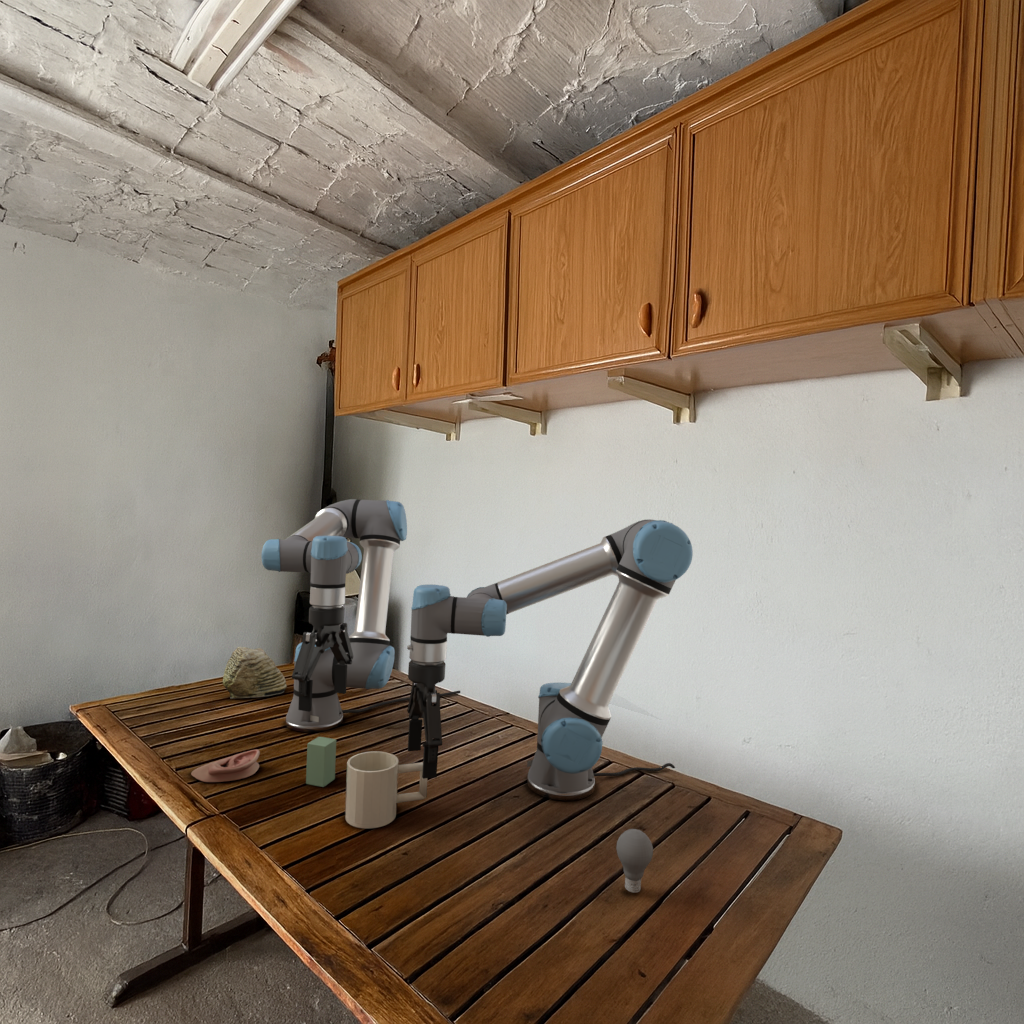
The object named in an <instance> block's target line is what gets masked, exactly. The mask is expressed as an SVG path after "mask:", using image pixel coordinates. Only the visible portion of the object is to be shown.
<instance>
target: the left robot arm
mask: <svg viewBox="0 0 1024 1024" xmlns="http://www.w3.org/2000/svg"><path fill="white" fill-rule="evenodd" d="M407 522H408V521H407V514H406V509H405V506H404V505H403V504H402V502H400V501H396V500H395V501H394V500H389V499H386V500H381V499H359V498H350V499H345V500H340V501H337V502H334V503H332V504H329V505H328V506H324V508H322V509H321V510H319V511H317V512H316V514H315V516H314V519H312V520H311V521H309V522H307V523H306V524H305V525H304V526H302V527H301V528H299V529H298V530H296V531H295V532H293V533H292V534H291V535H289V536H288V537H286V538H284V539H281V538H277V539H275V538H273V539H267V540H266V541H265V542H264V544H263V546H262V549H261V563H262V566H263V568H264V569H265V570H267V571H273V572H279V573H281V572H283V573H285V572H286V573H309V574H310V585H309V586H310V590H309V593H310V594H309V604H310V605H311V606H310V607H309V608H308V623H309V624H310V625H312V631H311V632H309V631H304V632H303V634H302V642H300V643H298V644H297V645H296V648H295V655H294V659H293V662H294V668H293V671H292V675H291V679H292V680H293V695H292V696H293V697H292V699H291V702H290V704H289V708H288V711H287V713H286V715H285V726H286V728H287V729H289V730H291V731H294V732H295V731H296V732H301V733H316V732H325V731H329V730H332V729H335V728H337V727H339V726H340V725H342V723H343V722H344V714H359V713H364V712H367V711H370V710H372V709H375V708H379V707H382V706H386V705H390V704H394V703H401V702H406V701H408V702H409V699H410V696H408V697H401V698H396V699H391V700H386V701H382V702H378V703H375V704H372V705H369V706H367V707H363V708H359V709H342V706H341V702H340V699H339V695H338V694H342V695H345V694H346V693H347V688H348V689H364V690H365V689H366V690H371V689H373V690H374V689H375V690H377V689H378V690H380V689H383V688H384V687H385V686H386V685H387V684H388V682H389V680H390V677H391V675H392V671H393V668H394V663H395V652H396V650H395V647H394V646H392V645H390V641H391V640H390V638H389V637H388V636H387V635H386V629H387V627H386V626H387V620H388V611H389V610H388V609H389V601H390V591H391V584H392V583H391V582H392V581H391V580H392V571H393V564H394V563H393V562H394V554H395V551H397V550H398V549H400V546H401V542H404V541H405V540H407V535H408V523H407ZM348 539H359V545H360V546H361V547H362V549H363V553H362V551H361V548H360V547H359V546H358V545H357V544H356V543H354V542H352V541H348ZM362 555H363V556H362ZM360 565H361V572H360V580H359V588H358V597H357V605H356V612H355V622H354V628H353V629H354V631H353V632H352V633H351V634H350V635H349V633H348V623H347V622H345V607H344V605H345V604H346V578H347V575H348V574H350V573H352V572H354V571H355V570H356V569H358V568H359V566H360ZM458 694H461V690H455V691H449V692H443V693H440V698H441V697H447V696H453V695H458Z"/></svg>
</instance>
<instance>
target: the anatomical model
mask: <svg viewBox="0 0 1024 1024" xmlns="http://www.w3.org/2000/svg"><path fill="white" fill-rule="evenodd" d="M260 754H261V752H260V749H257V748H256V749H251V750H247V751H243V752H240V753H236V754H234V755H231V756H228V757H225V758H222V759H219V760H216V761H211V762H209V763H206V764H204V765H201V766H198V767H197V768H195V769H193V770H192V771H191V773H190V775H191V776H192V777H193V778H194V779H196V780H198V781H201V782H203V783H221V782H230V781H231V782H233V781H237V780H241V779H246V778H248V777H250V776H253V775H254V774H256V772H257V771H258V770H259V768H260V764H259V762H258V759H259V757H260Z"/></svg>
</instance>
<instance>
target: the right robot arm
mask: <svg viewBox="0 0 1024 1024" xmlns="http://www.w3.org/2000/svg"><path fill="white" fill-rule="evenodd" d="M693 554H694V553H693V546H692V543H691V539H690V538H689V535H688V534H687V533H686V532H685V531H684V530H683V529H682V528H681V527H679V526H678V525H675V524H674V523H673V522H670V521H667V520H665V519H664V520H662V519H659V520H657V519H642V520H638V521H636V522H634V523H631V524H630V525H628V526H626V527H624V528H621V529H620V530H617V531H615V532H613V533H611V534H608V535H605V536H603V537H602V538H601V541H600V543H597V544H595V545H591V546H590V547H586V548H584V549H581V550H579V551H576V552H574V553H570V554H569V555H566V556H563V557H561V558H558V559H555V560H552V561H550V562H547V563H544V564H542V565H539V566H537V567H534V568H531V569H529V570H525V571H523V572H521V573H518V574H515V575H513V576H511V577H507V578H505V579H502V580H500V581H497V582H495V583H492V584H489V585H486V586H479V587H475V588H474V589H472V590H471V591H470V592H469V593H468V594H467V595H466V596H465V597H464V596H463V597H462V596H455V595H451V590H450V588H449V586H447V585H443V584H441V585H440V584H420V585H418V586H416V587H415V588H414V590H413V596H412V605H411V607H410V609H411V613H410V614H411V617H410V618H411V619H410V639H409V640H410V641H409V642H410V644H408V645H406V649H407V651H409V656H408V657H409V659H410V661H409V662H408V670H407V679H408V680H409V681H410V682H412V683H411V690H410V695H409V697H410V699H409V700H408V704H407V709H406V712H407V714H408V718H409V720H408V721H409V722H408V736H407V737H408V739H407V752H418V751H421V750H422V747H423V756H422V758H423V759H422V762H423V772H422V778H423V779H425V778H428V779H433V778H437V776H438V760H439V747H441V746H443V731H442V717H441V697H440V694H441V692H438V690H437V689H436V685H437V684H439V683H442V682H443V681H444V680H445V678H446V666H447V665H446V662H445V661H446V659H447V652H448V651H447V649H448V634H453V635H455V634H456V635H469V636H480V637H481V636H482V637H487V638H490V637H502V636H503V635H505V633H506V627H507V615H509V614H511V613H512V614H513V613H514V612H517V611H519V610H523V609H525V608H527V607H530V606H533V605H536V604H539V603H541V602H543V601H546V600H549V599H552V598H554V597H556V596H559V595H562V594H566V593H567V592H571V591H573V590H575V589H578V588H581V587H583V586H586V585H589V584H591V583H594V582H597V581H600V580H602V579H605V578H608V577H610V576H616V577H617V579H618V583H617V585H616V587H615V590H614V592H613V594H612V595H611V598H610V600H609V602H608V604H607V607H606V608H605V611H604V613H603V614H602V617H601V619H600V622H599V623H598V625H597V628H596V630H595V632H594V635H593V636H592V639H591V640H590V643H589V645H588V646H587V649H586V651H585V653H584V656H583V658H582V660H581V662H580V664H579V666H578V668H577V671H576V672H575V675H574V676H573V678H572V681H571V682H547V683H544V684H542V685H541V686H540V687H539V693H538V697H537V698H538V715H537V739H536V751H535V753H534V757H533V759H531V760H528V761H527V764H526V767H527V768H529V770H528V772H527V781H526V782H527V787H528V788H529V789H530V790H531V791H532V792H533V793H535V794H536V795H539V796H541V797H544V798H547V799H550V800H557V801H578V800H580V799H581V800H582V799H585V798H587V797H589V796H590V795H592V794H593V793H594V791H595V785H596V779H595V777H620V776H622V775H623V776H624V775H626V774H627V773H630V772H635V771H638V772H639V771H640V772H660V771H662V770H664V769H666V768H668V767H670V768H672V769H676V767H675V765H674V764H673V763H671V762H666V763H664V764H663V765H661V766H659V767H640V766H639V767H638V766H637V767H635V766H634V767H629V768H626V769H623V770H621V771H618V772H594V771H593V767H594V766H595V765H596V764H597V763H598V761H599V760H600V758H601V756H602V751H603V738H602V737H603V736H604V734H605V732H606V730H607V728H608V725H609V723H610V721H611V718H612V714H611V710H610V708H609V705H610V702H611V701H612V699H613V697H614V694H615V692H616V690H617V688H618V686H619V683H620V682H621V679H622V677H623V675H624V673H625V671H626V669H627V667H628V665H629V663H630V660H631V658H632V656H633V654H634V652H635V649H636V647H637V645H638V643H639V641H640V639H641V637H642V635H643V633H644V630H645V628H646V626H647V625H648V622H649V619H650V618H651V615H652V613H653V612H654V609H655V607H656V605H657V603H658V601H659V600H660V599H663V598H666V597H668V596H669V595H670V593H671V591H672V589H673V587H674V585H675V584H676V583H675V582H676V580H679V578H681V577H683V575H685V573H687V572H688V570H689V568H690V566H691V563H692V561H693V556H694V555H693ZM423 729H424V730H423ZM423 731H424V738H425V742H422V735H423ZM660 767H662V768H660Z"/></svg>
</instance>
